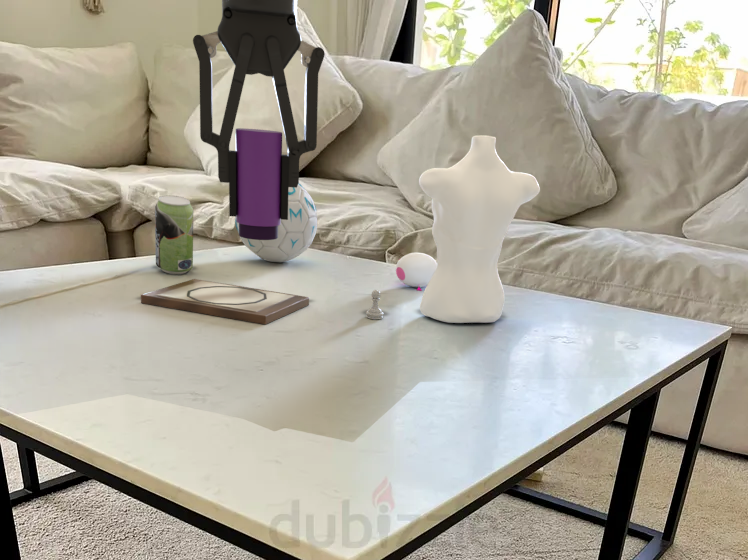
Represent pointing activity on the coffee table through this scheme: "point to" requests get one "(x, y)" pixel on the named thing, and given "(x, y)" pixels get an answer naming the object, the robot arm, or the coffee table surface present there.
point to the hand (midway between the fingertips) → (258, 215)
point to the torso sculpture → (471, 232)
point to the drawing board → (226, 300)
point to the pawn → (375, 307)
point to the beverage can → (174, 234)
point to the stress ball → (416, 269)
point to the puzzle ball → (289, 230)
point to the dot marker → (258, 183)
